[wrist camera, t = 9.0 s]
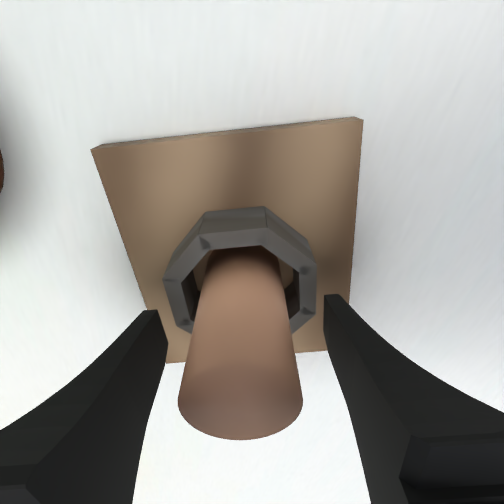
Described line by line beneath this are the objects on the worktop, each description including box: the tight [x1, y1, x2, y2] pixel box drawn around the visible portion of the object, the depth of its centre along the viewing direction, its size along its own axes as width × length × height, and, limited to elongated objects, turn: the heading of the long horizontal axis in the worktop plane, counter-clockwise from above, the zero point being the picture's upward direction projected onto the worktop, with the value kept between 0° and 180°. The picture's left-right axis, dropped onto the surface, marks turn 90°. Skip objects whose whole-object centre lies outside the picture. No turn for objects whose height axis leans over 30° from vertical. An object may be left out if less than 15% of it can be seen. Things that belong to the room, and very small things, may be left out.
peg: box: [178, 245, 303, 440], centre depth 13 cm, size 4×4×8 cm
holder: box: [90, 117, 363, 364], centre depth 16 cm, size 12×14×4 cm
